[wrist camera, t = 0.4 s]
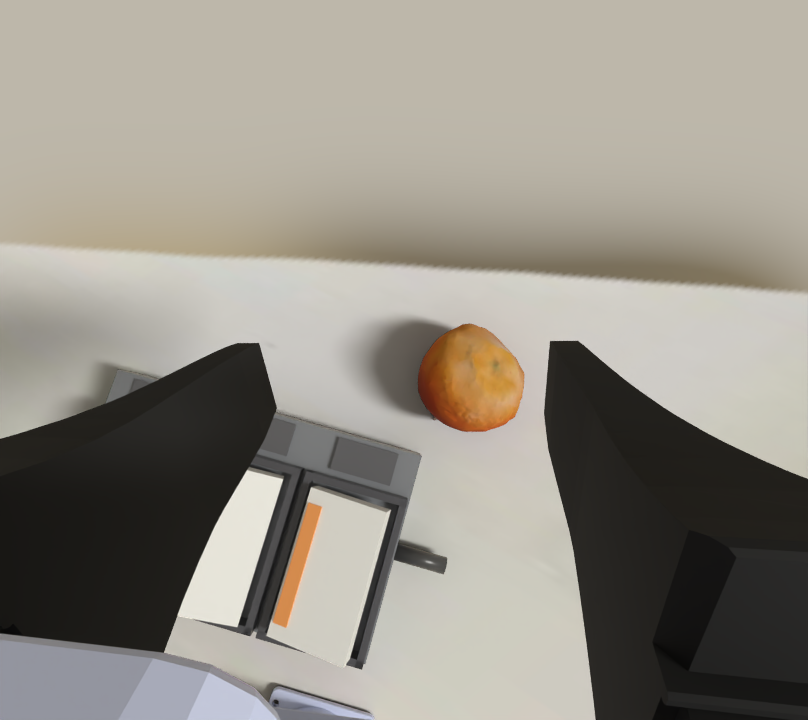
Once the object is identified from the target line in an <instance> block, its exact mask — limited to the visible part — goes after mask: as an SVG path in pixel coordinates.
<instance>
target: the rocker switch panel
mask: <svg viewBox="0 0 808 720" xmlns="http://www.w3.org/2000/svg"><path fill="white" fill-rule="evenodd" d="M157 380H159V379H157V378H154V377H150V376H147V375H143V374H140V373H135V372H129V371H124V370H119V369H118V370H117V373H116V376H115V379H114V381H113V384H112V387H111V389H110V392H109V395H108V398H107V400H106V403H108V402H111V401H113V400H115V399H118V398H120V397H122V396H125V395H127V394H129V393H131V392H133V391H135V390H137V389H140V388H142V387H144V386H146V385H148V384H150V383H153V382H155V381H157ZM106 403H105V404H106ZM421 457H422V456H421V455H420V453H416V452H413V451H409V450H406V449H402V448H399V447H395V446H392V445H388V444H385V443H381V442H378V441H374V440H371V439H367V438H364V437H360V436H357V435H353V434H350V433H346V432H343V431H339V430H336V429H332V428H329V427H325V426H322V425H318V424H315V423H311V422H308V421H304V420H301V419H297V418H294V417H290V416H287V415H283V414H280V413H276V412H275V414H274V417H273V420H272V423H271V425H270V428H269V430H268V433H267V435H266V437H265V440H264V442H263V443H262V445H261V447H260V449H259V451H258V452H257V454H256V456H255V457H254V459H253V461H252V463H251V464H250V466H249V467H251V468H255V469H259V470H263V471H267V472H271V473H275V474H279V475H283V476H284V478H283V482H282V485H281V488H280V491H279V494H278V498H277V501H276V504H275V507H274V511H273V514H272V517H271V520H270V523H269V527H268V530H267V533H266V536H265V540H264V543H263V546H262V549H261V553H260V556H259V559H258V562H257V565H256V569H255V572H254V575H253V578H252V582H251V585H250V588H249V591H248V594H247V598H246V601H245V604H244V607H243V611H242V614H241V617H240V620H239V624H238V627H233V626H228V625H222V624H217V623H212V622H206V621H201V620H197V621H200V622H203V623H207V624H210V625H214V626H217V627H220V628H224V629H227V630H230V631H234V632H237V633H241V634H244V635H247V636H250V635H251V634H252V632H253V631H255V632H257V634H256V638H257V639H261V640H264V641H267V642H271V643H274V644H278V645H281V646H284V647H288V648H291V649H294V650H298V649H296V648H294V647H291V646H289V645H287V644H284V643H282V642H280V641H277V640H275V639H273V638H270V637H268V636H266V635H267V632H268V629H269V625H270V622H271V619H272V615H273V612H274V609H275V605H276V602H277V599H278V595H279V592H280V589H281V586H282V582H283V579H284V576H285V572H286V569H287V566H288V562H289V559H290V556H291V552H292V549H293V546H294V542H295V539H296V536H297V532H298V529H299V526H300V522H301V519H302V516H303V512H304V509H305V506H306V503H307V499H308V496H309V493H310V489H311V487H315V486H321V487H324V488H327V489H330V490H333V491H336V492H339V493H342V494H345V495H348V496H351V497H354V498H357V499H360V500H363V501H366V502H369V503H372V504H375V505H378V506H381V507H384V508H387V509H390V510H391V511H390V515H389V519H388V522H387V526H386V530H385V533H384V537H383V540H382V544H381V548H380V551H379V555H378V559H377V562H376V566H375V569H374V573H373V577H372V580H371V584H370V588H369V591H368V595H367V598H366V602H365V606H364V609H363V613H362V617H361V620H360V624H359V627H358V631H357V635H356V638H355V642H354V646H353V649H352V653H351V656H350V659H349V661H348V662H347V664H346V665H348V666H352V667H355V668H358V669H362V667H363V664H365V663H366V659H367V655H368V652H369V648H370V644H371V641H372V637H373V633H374V630H375V626H376V622H377V619H378V615H379V611H380V608H381V604H382V600H383V597H384V593H385V589H386V586H387V582H388V578H389V574H390V571H391V567H392V563H393V560H396V561H400V562H403V563H406V564H410V565H413V566H417V567H420V568H424V569H427V570H430V571H434V572H437V573H441V574H444V572H445V569H446V565H447V557H443V556H440V555H436V554H433V553H429V552H426V551H422V550H419V549H416V548H412V547H409V546H405V545H402V544H398V541H399V538H400V534H401V530H402V527H403V523H404V519H405V516H406V512H407V508H408V504H409V501H410V497H411V493H412V490H413V486H414V482H415V479H416V475H417V471H418V468H419V464H420V460H421ZM193 620H195V619H193ZM298 651H301V650H298ZM301 652H303V651H301ZM304 653H305V652H304Z"/></svg>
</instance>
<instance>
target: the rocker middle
mask: <svg viewBox="0 0 808 720" xmlns="http://www.w3.org/2000/svg"><path fill="white" fill-rule="evenodd" d="M283 478H284V476H283V475H279V474H275V473H271V472H267V471H263V470H259V469H255V468H251V467H249V468H248V470H247V471H246V473H245V475H244V476H243V478H242V480H241V481H240V483H239V485H238V486H237V488H236V490H235V492H234V493H233V495H232V497H231V498H230V500H229V502H228V503H227V505H226V507H225V509H224V510H223V512H222V514H221V516H220V518H219V520H218V522H217V523H216V525H215V527H214V529H213V532H212V534H211V536H210V538H209V541H208V543H207V545H206V547H205V549H204V552H203V554H202V556H201V558H200V561H199V563H198V565H197V568H196V570H195V572H194V575H193V577H192V580H191V582H190V585H189V587H188V590H187V592H186V594H185V597H184V599H183V602H182V604H181V607H180V610H179V613H178V615H177V616H179V617H184V618H190V619H195V620H201V621H206V622H212V623H217V624H222V625H228V626H233V627H238V624H239V620H240V617H241V614H242V611H243V607H244V604H245V601H246V598H247V594H248V591H249V588H250V585H251V582H252V578H253V575H254V572H255V569H256V565H257V562H258V559H259V556H260V553H261V549H262V546H263V543H264V540H265V536H266V533H267V530H268V527H269V523H270V520H271V517H272V514H273V511H274V507H275V504H276V501H277V498H278V494H279V491H280V488H281V485H282V482H283Z"/></svg>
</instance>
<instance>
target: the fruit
mask: <svg viewBox="0 0 808 720" xmlns="http://www.w3.org/2000/svg"><path fill="white" fill-rule="evenodd" d="M523 388H524V372H523V370H522V369H521V367H520V365H519V363H518V361H517V359H516V358H515V357H514V356H513V355H512V353H511V352H510V351H509V350H508V349H507V348H506V347H505V346H504V345H503V343H502V342H501V341H500V340H499V339H498V338H497V337H496V336H495V335H494V334H492V333H491V332H489V331H488V330H487V329H485V328H482V327H478V326H476V325H473V324H463V325H461V326H459V327H457V328H455V329H453V330H450V331H449V332H447V333H445V334H444V335H443V336H441V337H440V338H438V339H437V340H436V341H435V343H434V344H433V345H432V346H431V348H430V349H429V351H428V352H427V353H426V355H425V356H424V358H423V360H422V364H421V366H420V369H419V375H418V391H419V394H420V397H421V400H422V401H423V403H424V405H425V407H426V408H427V409H428V410H429V412H430V413H431V414H432V415H433V416H434V419H433V420H436V419H438V420H439V421H441V422H442V423H443V424H445V425H447V426H449V427H452V428H454V429H457V430H460V431H465V432H469V431H472V432H483V431H487V430H490V429H494V428H497V427H500V426H502V425H504V424H506V423H507V422H508V421H509V420H511V419H513V418H514V417H515V415H516V413H517V410H518V408H519V404H520V400H521V398H522V392H523Z"/></svg>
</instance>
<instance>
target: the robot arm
mask: <svg viewBox="0 0 808 720" xmlns="http://www.w3.org/2000/svg"><path fill="white" fill-rule="evenodd" d="M276 409H277V407H276V403H275V399H274V396H273V392H272V389H271V385H270V381H269V378H268V374H267V370H266V367H265V363H264V359H263V356H262V352H261V349H260V345H259V343H237V344H234V345H231V346H228V347H225V348H223V349H221V350H218V351H216V352H214V353H212V354H210V355H208V356H206V357H203V358H201V359H199V360H197V361H195V362H193V363H191V364H189V365H187V366H185V367H183V368H181V369H179V370H177V371H175V372H173V373H171V374H169V375H167V376H165V377H163V378H161V379H159V380H157V381H155V382H153V383H150V384H148V385H146V386H144V387H142V388H140V389H137V390H135V391H133V392H131V393H129V394H127V395H125V396H122V397H120V398H118V399H115V400H113V401H111V402H108V403H106V404H103V405H101V406H98V407H96V408H93V409H90V410H88V411H85V412H83V413H80V414H77V415H75V416H72V417H69V418H66V419H63V420H60V421H57V422H54V423H51V424H48V425H44V426H41V427H38V428H35V429H32V430H29V431H26V432H22V433H19V434H16V435H13V436H9V437H6V438H2V439H0V720H375V719H374V716H373V715H372V714H370V713H367V712H364V711H361V710H357V709H354V708H351V707H347V706H344V705H341V704H337V703H334V702H331V701H327V700H324V699H321V698H317V697H314V696H310V695H307V694H304V693H300V692H297V691H294V690H290V689H287V688H284V687H279V686H278V687H276V688H274V690H273V692H272V694H271V697H270V700H269V703H268V702H267V701H266V700H265V699H264V697H263V696H262V695H261V694H260V693H259V692H258V691H257V690H256V689H255V688H254V687H253V686H251V685H249V684H247V683H245V682H243V681H241V680H239V679H237V678H236V677H234V676H232V675H230V674H228V673H226V672H224V671H222V670H221V669H219V668H217V667H215V666H213V665H210V664H206V663H202V662H198V661H194V660H190V659H186V658H182V657H178V656H175V655H171V654H167V653H164V651H165V648H166V645H167V642H168V640H169V637H170V634H171V632H172V629H173V626H174V623H175V621H176V618H177V615H178V613H179V610H180V607H181V604H182V602H183V599H184V597H185V594H186V592H187V590H188V587H189V585H190V582H191V580H192V577H193V575H194V572H195V570H196V568H197V565H198V563H199V561H200V558H201V556H202V554H203V552H204V549H205V547H206V545H207V543H208V541H209V538H210V536H211V534H212V532H213V529H214V527H215V525H216V523H217V522H218V520H219V518H220V516H221V514H222V512H223V510H224V509H225V507H226V505H227V503H228V502H229V500H230V498H231V497H232V495H233V493H234V492H235V490H236V488H237V486H238V485H239V483H240V481H241V480H242V478H243V476H244V475H245V473H246V471H247V470H248V468H249V466H250V464H251V463H252V461H253V459H254V457H255V456H256V454H257V452H258V451H259V449H260V447H261V445H262V443H263V442H264V440H265V437H266V435H267V433H268V430H269V428H270V425H271V423H272V420H273V417H274V414H275V412H276ZM544 416H545V425H546V434H547V442H548V449H549V453H550V457H551V461H552V465H553V469H554V473H555V477H556V481H557V485H558V489H559V492H560V496H561V500H562V504H563V508H564V512H565V516H566V519H567V523H568V527H569V531H570V536H571V541H572V545H573V550H574V557H575V564H576V570H577V577H578V584H579V591H580V598H581V605H582V612H583V620H584V627H585V635H586V642H587V650H588V658H589V667H590V675H591V683H592V691H593V699H594V708H595V717H596V720H808V479H806V478H804V477H801V476H799V475H796V474H794V473H791V472H789V471H786V470H784V469H782V468H779V467H777V466H775V465H772V464H770V463H767V462H765V461H763V460H761V459H758V458H756V457H754V456H752V455H750V454H748V453H746V452H744V451H742V450H739V449H737V448H735V447H733V446H731V445H729V444H727V443H725V442H723V441H721V440H719V439H717V438H715V437H713V436H711V435H709V434H707V433H706V432H704V431H702V430H700V429H699V428H697V427H695V426H693V425H692V424H690V423H688V422H686V421H685V420H683V419H681V418H679V417H678V416H676V415H674V414H673V413H671V412H670V411H668V410H667V409H665V408H663V407H662V406H661V405H659V404H658V403H656V402H655V401H653V400H652V399H650V398H649V397H647V396H646V395H645V394H643V393H642V392H640V391H639V390H638V389H636V388H635V387H634V386H632V385H631V384H630V383H628V382H627V381H626V380H624V379H623V378H622V377H621V376H619V375H618V374H617V373H616V372H614V371H613V370H612V369H611V368H610V367H608V366H607V365H606V364H605V363H604V362H602V361H601V360H600V359H599V358H598V357H597V356H595V355H594V354H593V353H592V352H591V351H590V350H588V349H587V348H586V347H585V346H584V345H582V344H581V343H580V342H579V341H550V348H549V360H548V372H547V385H546V397H545V409H544ZM273 700H278V701H279V703H278V704H275V703H274V701H273Z"/></svg>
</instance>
